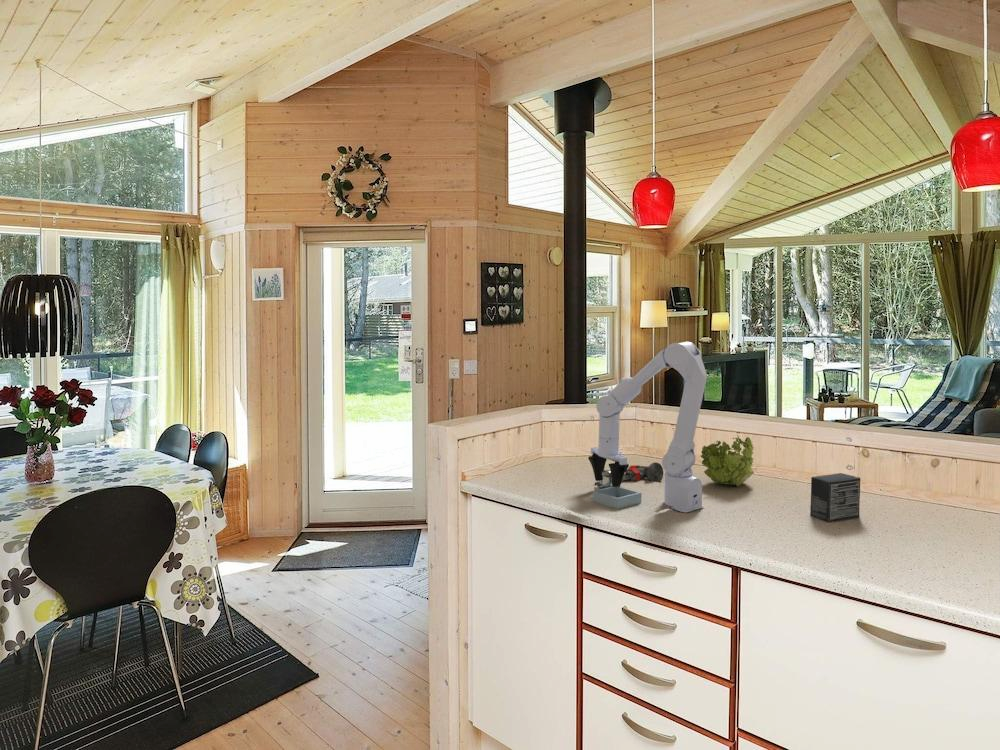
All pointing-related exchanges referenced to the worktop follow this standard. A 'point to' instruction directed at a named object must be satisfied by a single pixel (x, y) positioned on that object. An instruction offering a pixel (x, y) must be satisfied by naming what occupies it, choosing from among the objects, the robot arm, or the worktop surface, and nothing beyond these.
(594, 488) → the plate
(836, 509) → the small box
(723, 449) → the lettuce head
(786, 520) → the worktop surface
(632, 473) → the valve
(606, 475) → the metal capped cylinder
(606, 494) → the bin
